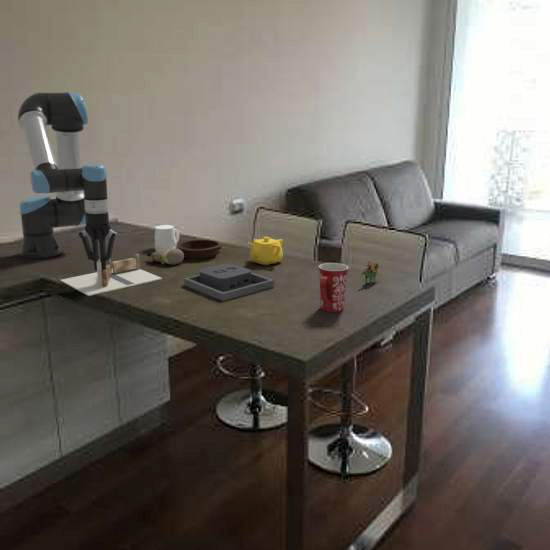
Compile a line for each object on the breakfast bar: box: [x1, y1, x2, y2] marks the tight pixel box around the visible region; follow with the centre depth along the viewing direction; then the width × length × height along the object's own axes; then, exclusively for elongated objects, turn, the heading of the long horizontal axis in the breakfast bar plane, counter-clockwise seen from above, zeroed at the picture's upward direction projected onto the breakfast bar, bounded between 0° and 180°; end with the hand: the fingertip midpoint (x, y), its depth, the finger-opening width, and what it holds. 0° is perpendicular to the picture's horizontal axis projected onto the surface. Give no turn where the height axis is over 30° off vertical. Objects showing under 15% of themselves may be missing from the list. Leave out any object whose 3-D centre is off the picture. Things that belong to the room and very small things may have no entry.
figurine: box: [360, 261, 380, 285], centre depth 212 cm, size 3×12×8 cm, turn 141°
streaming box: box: [198, 263, 252, 292], centre depth 211 cm, size 14×14×5 cm
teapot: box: [247, 236, 284, 266], centre depth 236 cm, size 14×13×10 cm
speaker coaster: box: [183, 272, 275, 302], centre depth 209 cm, size 22×22×2 cm
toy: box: [146, 248, 185, 265], centre depth 237 cm, size 10×6×15 cm
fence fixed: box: [106, 253, 141, 275], centre depth 223 cm, size 13×2×6 cm, turn 132°
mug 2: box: [318, 262, 349, 313], centre depth 185 cm, size 13×9×14 cm
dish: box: [176, 239, 223, 260], centre depth 247 cm, size 18×22×5 cm
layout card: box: [60, 268, 163, 297], centre depth 215 cm, size 22×28×1 cm
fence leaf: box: [101, 263, 112, 286], centre depth 211 cm, size 13×2×5 cm, turn 8°
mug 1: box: [154, 224, 180, 251], centre depth 258 cm, size 12×9×8 cm
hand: (101, 279), depth 209 cm, fingers closed
